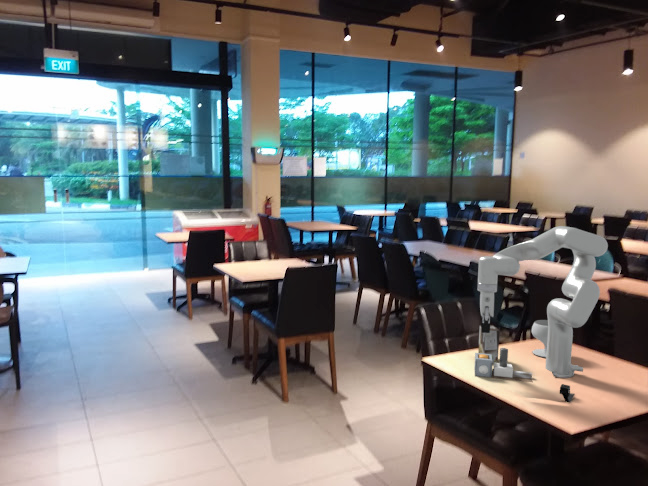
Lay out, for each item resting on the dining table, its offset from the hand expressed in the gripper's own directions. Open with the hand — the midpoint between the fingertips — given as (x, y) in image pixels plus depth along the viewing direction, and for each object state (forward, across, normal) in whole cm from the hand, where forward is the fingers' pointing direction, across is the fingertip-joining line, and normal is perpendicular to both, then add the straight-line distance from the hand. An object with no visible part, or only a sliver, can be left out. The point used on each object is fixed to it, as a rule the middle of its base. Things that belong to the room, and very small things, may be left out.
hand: (485, 329), depth 211 cm
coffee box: (+20, +18, -3) cm, 27 cm away
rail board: (+20, 0, -8) cm, 21 cm away
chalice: (+20, +38, -30) cm, 52 cm away
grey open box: (+18, 0, 0) cm, 18 cm away
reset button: (+14, 0, 0) cm, 14 cm away
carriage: (+18, 0, -8) cm, 20 cm away
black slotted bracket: (+21, -12, -29) cm, 38 cm away
